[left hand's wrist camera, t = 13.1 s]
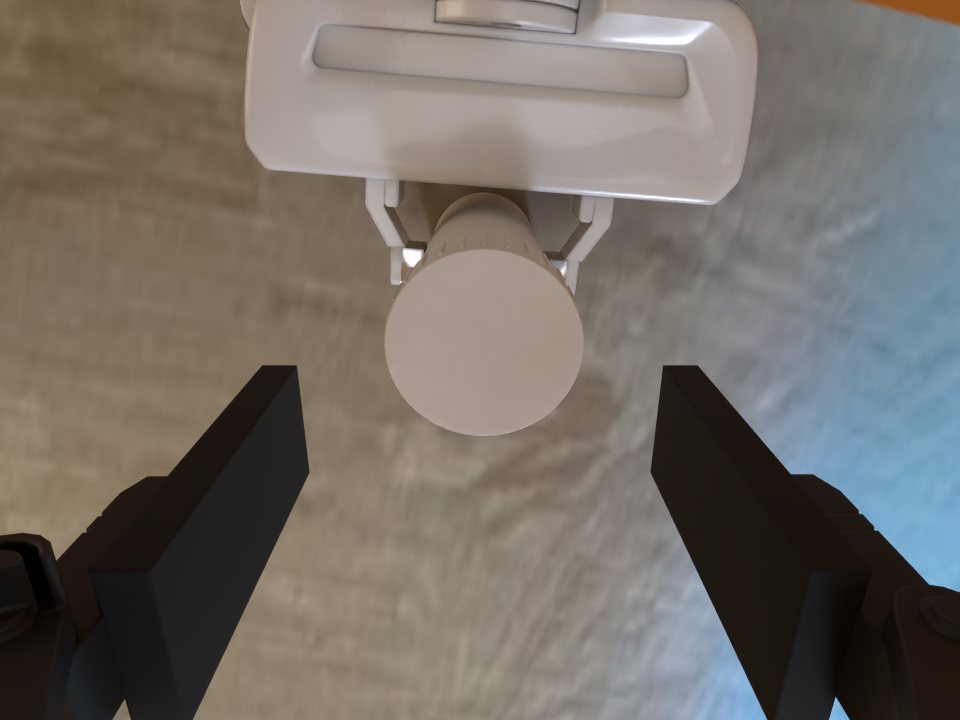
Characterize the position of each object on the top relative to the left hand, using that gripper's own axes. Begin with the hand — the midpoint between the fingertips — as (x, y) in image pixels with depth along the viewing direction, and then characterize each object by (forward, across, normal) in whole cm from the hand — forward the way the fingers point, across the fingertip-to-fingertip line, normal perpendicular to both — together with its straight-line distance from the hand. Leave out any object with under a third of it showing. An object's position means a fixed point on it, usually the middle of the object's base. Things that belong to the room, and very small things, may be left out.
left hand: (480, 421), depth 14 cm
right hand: (+15, 0, -1) cm, 15 cm away
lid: (+5, 0, 0) cm, 5 cm away
